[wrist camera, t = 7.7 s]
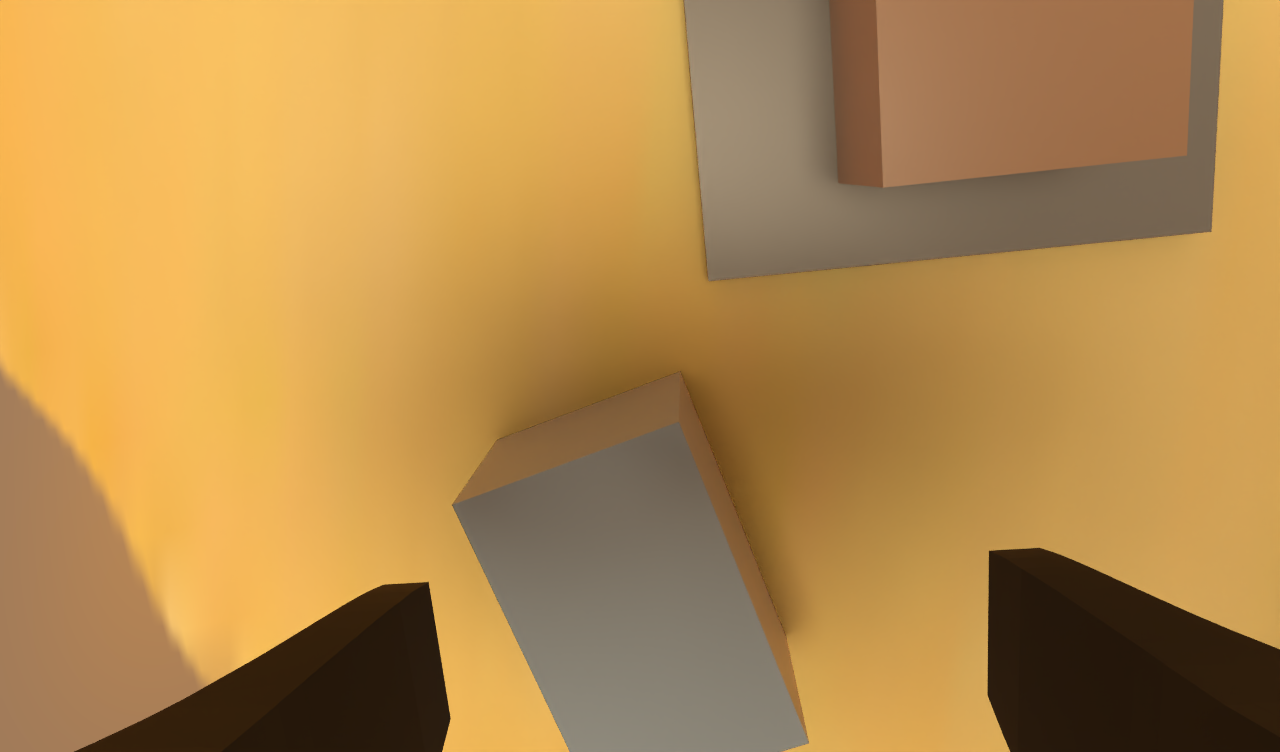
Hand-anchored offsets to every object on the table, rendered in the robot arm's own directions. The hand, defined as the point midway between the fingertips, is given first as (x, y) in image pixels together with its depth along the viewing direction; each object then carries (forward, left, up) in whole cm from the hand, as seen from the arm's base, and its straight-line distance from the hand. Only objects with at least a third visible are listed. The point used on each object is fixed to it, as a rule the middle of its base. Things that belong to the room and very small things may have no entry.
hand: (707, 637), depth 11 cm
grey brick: (+1, +3, -9) cm, 9 cm away
